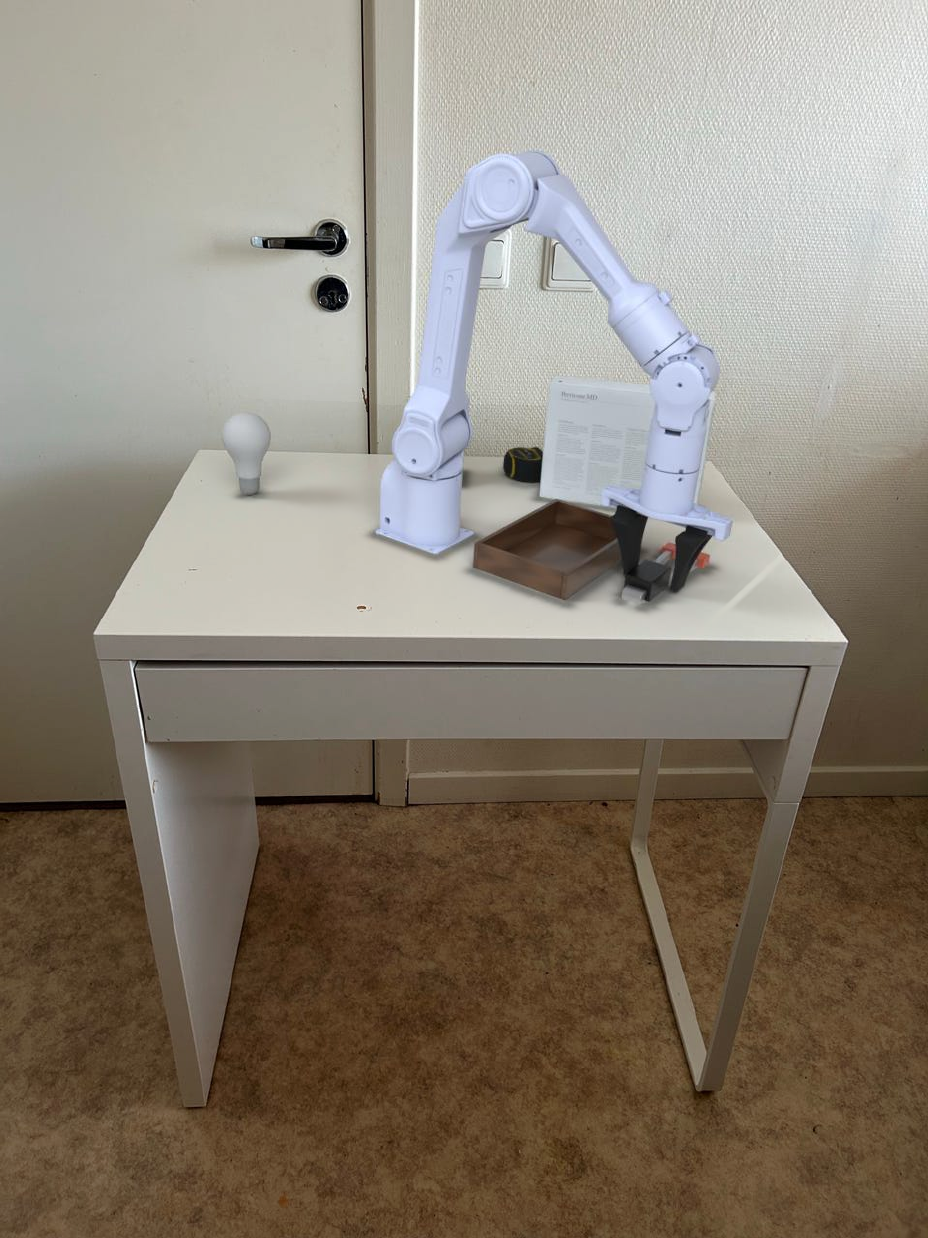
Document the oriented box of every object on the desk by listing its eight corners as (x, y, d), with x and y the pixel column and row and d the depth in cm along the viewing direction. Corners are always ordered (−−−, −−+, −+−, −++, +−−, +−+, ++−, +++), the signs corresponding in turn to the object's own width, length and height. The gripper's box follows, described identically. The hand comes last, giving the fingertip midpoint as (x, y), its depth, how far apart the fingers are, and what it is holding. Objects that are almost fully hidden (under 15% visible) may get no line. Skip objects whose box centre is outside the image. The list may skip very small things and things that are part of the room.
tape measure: (557, 485, 134) (560, 459, 132) (512, 488, 132) (514, 462, 130) (539, 468, 139) (542, 443, 137) (495, 471, 137) (497, 446, 135)
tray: (472, 570, 109) (474, 542, 107) (553, 524, 122) (555, 498, 120) (564, 604, 103) (567, 575, 101) (639, 551, 116) (643, 524, 114)
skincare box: (697, 506, 129) (717, 390, 122) (695, 521, 125) (717, 401, 117) (544, 485, 133) (554, 372, 126) (537, 499, 129) (547, 382, 121)
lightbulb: (283, 493, 126) (279, 412, 121) (251, 507, 122) (245, 423, 116) (249, 482, 129) (244, 402, 124) (216, 495, 125) (209, 413, 119)
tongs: (708, 566, 113) (712, 545, 111) (651, 613, 102) (655, 590, 101) (666, 553, 115) (670, 532, 114) (607, 597, 105) (610, 575, 103)
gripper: (752, 471, 99) (728, 587, 106) (628, 439, 107) (613, 549, 113) (726, 490, 94) (702, 610, 101) (597, 455, 101) (583, 569, 108)
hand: (653, 580), depth 107 cm, fingers open, 5 cm apart
